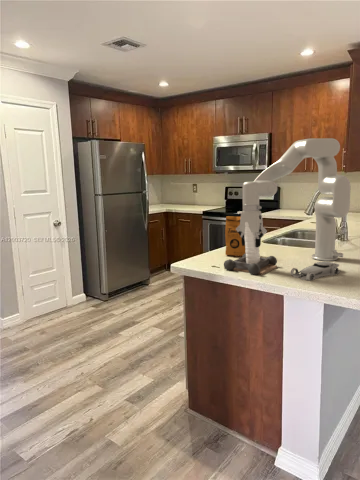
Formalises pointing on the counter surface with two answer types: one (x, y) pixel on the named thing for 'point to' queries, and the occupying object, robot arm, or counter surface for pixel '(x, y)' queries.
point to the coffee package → (233, 237)
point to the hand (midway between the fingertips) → (250, 245)
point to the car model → (316, 271)
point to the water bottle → (250, 245)
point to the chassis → (251, 265)
